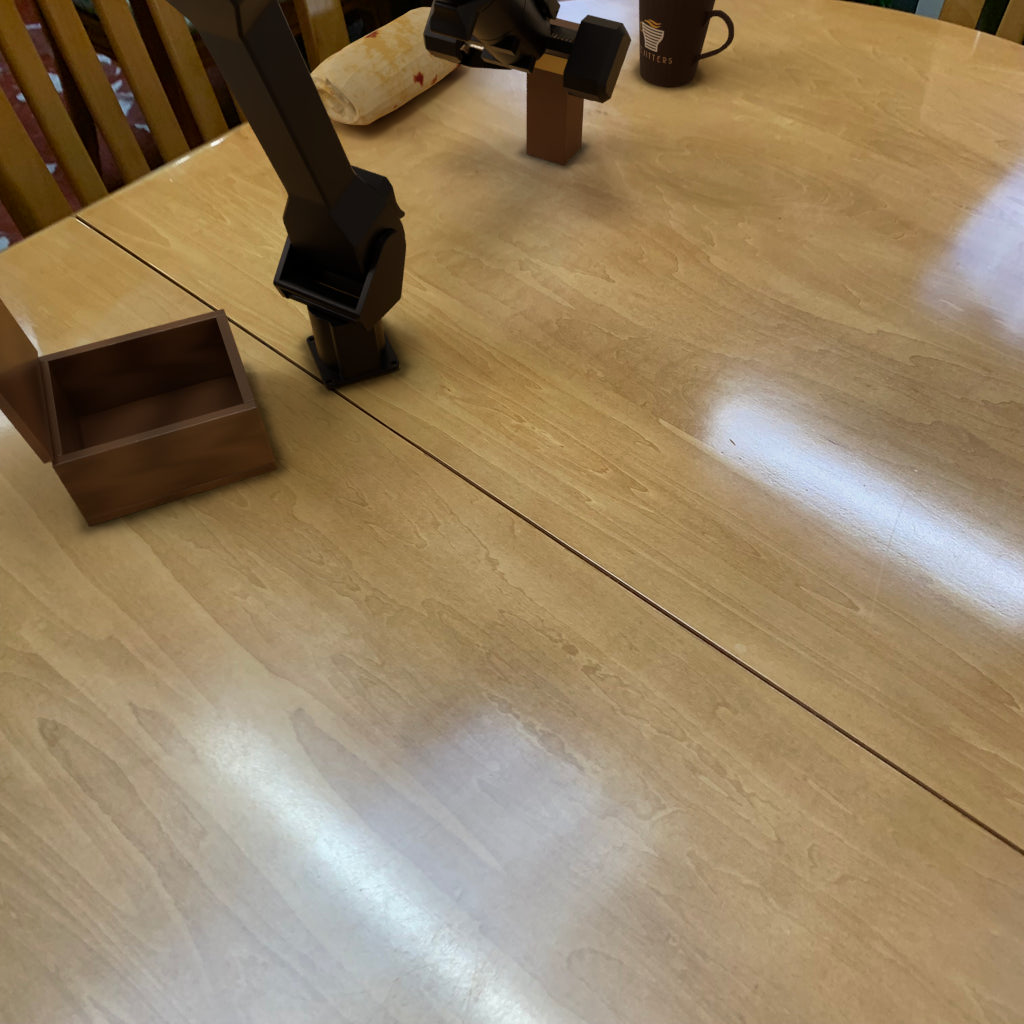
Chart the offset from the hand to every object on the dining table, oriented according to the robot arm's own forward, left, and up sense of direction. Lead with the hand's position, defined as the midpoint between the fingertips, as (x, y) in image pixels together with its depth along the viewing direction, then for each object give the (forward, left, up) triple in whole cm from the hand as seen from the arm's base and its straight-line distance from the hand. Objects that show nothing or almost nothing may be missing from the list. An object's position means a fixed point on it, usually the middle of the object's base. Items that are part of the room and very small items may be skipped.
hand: (553, 75), depth 90 cm
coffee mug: (+8, -19, -8) cm, 22 cm away
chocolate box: (0, 0, -8) cm, 8 cm away
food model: (+13, +20, -5) cm, 25 cm away
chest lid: (-26, +51, +6) cm, 58 cm away
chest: (-26, +44, -8) cm, 52 cm away
